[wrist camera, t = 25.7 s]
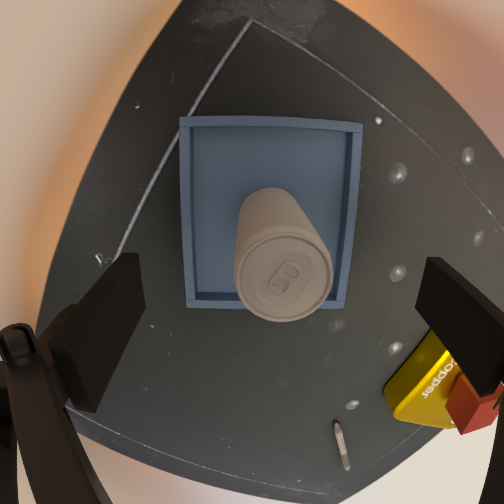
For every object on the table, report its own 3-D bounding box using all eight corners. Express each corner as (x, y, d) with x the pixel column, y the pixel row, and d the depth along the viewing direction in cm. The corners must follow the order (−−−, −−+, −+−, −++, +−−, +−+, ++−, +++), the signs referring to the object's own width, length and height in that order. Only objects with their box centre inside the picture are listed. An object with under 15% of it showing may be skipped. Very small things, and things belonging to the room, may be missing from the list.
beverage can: (227, 221, 26) (211, 290, 15) (263, 173, 25) (275, 208, 14) (274, 254, 27) (291, 340, 16) (311, 209, 26) (356, 269, 15)
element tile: (454, 294, 30) (477, 316, 25) (510, 331, 32) (528, 350, 28) (375, 393, 34) (387, 421, 30) (444, 411, 37) (456, 433, 33)
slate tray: (184, 117, 24) (179, 116, 22) (354, 123, 24) (363, 123, 22) (190, 296, 29) (186, 307, 27) (337, 297, 30) (343, 308, 28)
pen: (338, 417, 36) (340, 425, 34) (349, 464, 41) (351, 471, 39) (330, 419, 36) (332, 427, 35) (343, 466, 41) (345, 473, 39)
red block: (459, 374, 28) (480, 404, 23) (489, 367, 28) (510, 394, 23) (444, 406, 30) (460, 435, 25) (474, 398, 30) (491, 424, 25)
